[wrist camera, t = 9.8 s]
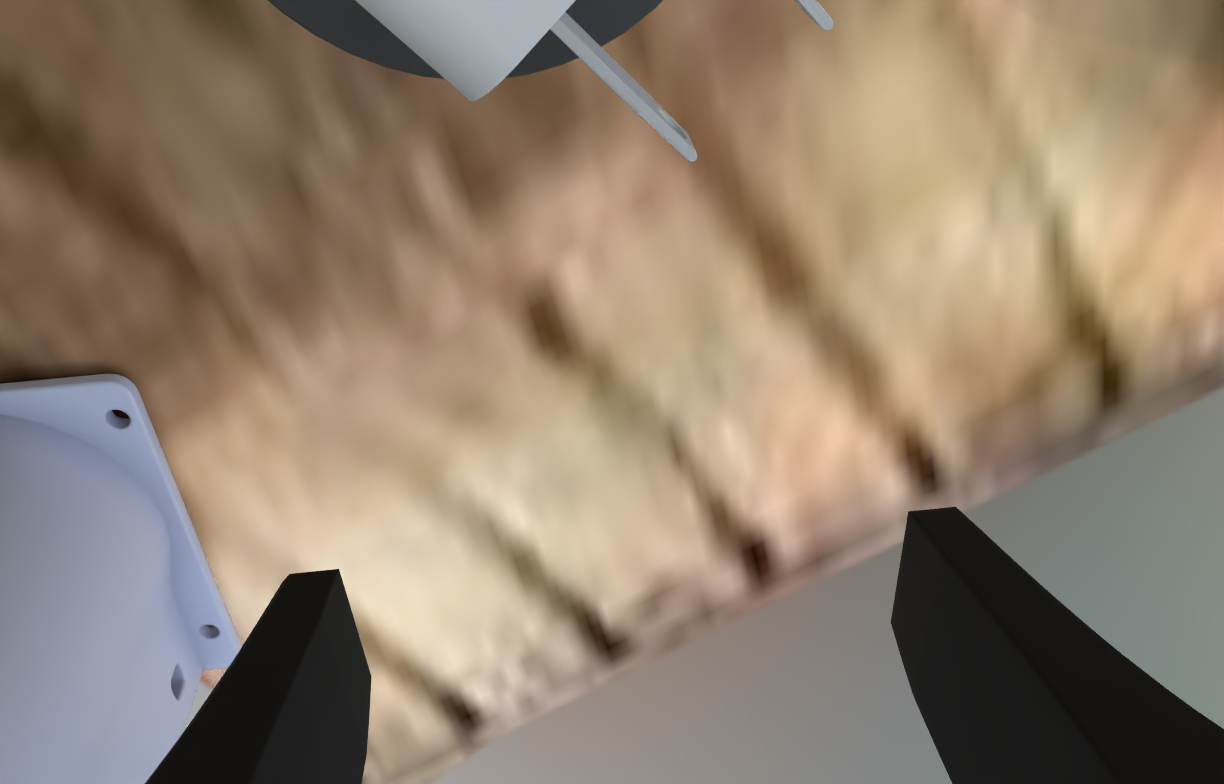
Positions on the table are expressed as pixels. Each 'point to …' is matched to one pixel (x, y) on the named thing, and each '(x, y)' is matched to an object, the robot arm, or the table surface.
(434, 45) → the usb wall charger
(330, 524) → the table surface
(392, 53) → the coffee cup
